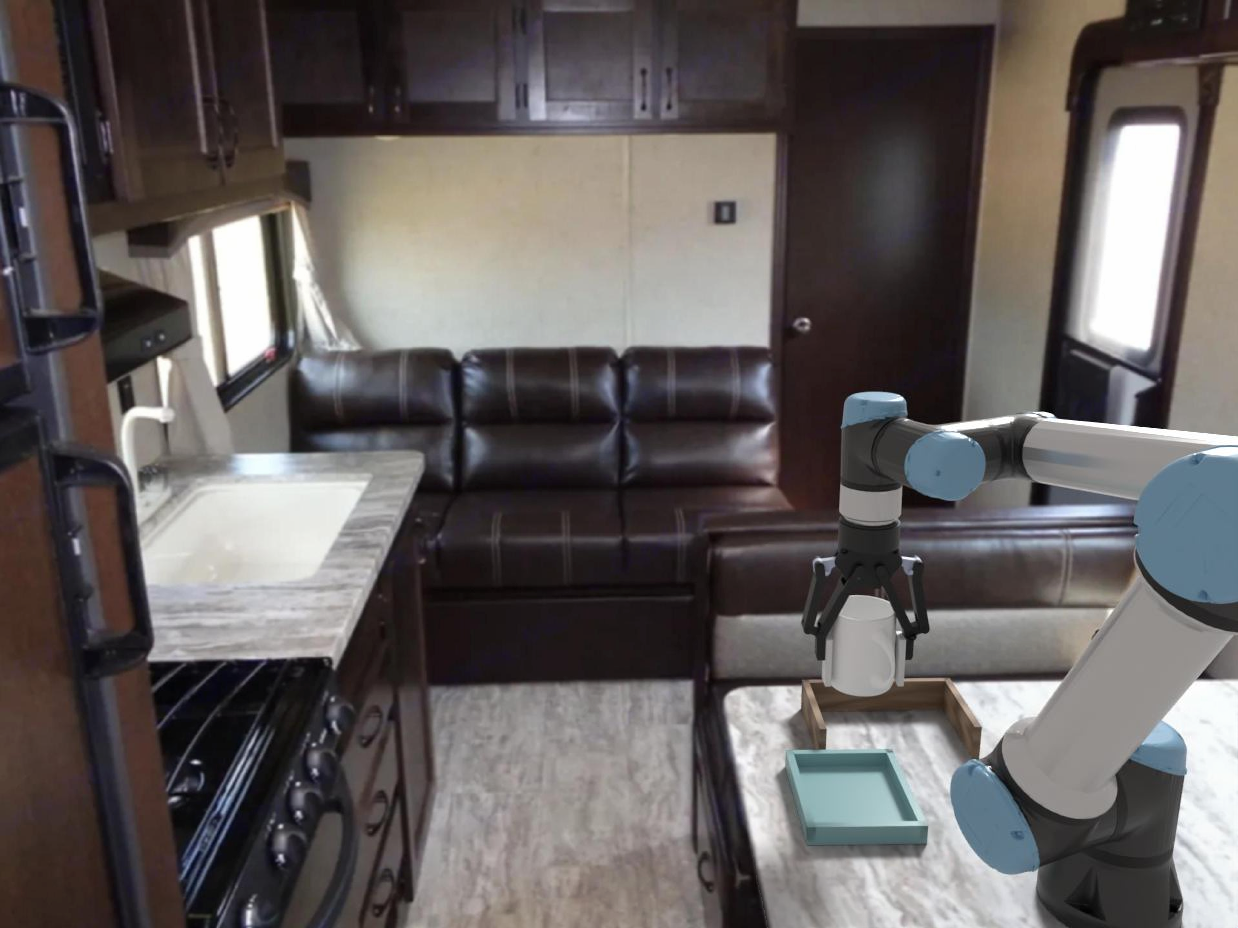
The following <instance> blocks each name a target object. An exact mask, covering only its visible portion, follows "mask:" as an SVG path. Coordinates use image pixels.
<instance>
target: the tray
mask: <svg viewBox="0 0 1238 928" xmlns="http://www.w3.org/2000/svg"><path fill="white" fill-rule="evenodd" d="M784 756H785V759H784V763H785V764H784V767H785V771H786V774H787V778H788V782H789V786H790V788H791V793H792V796H793V800H794V804H795V807H796V810H797V814H798V817H799V821H800V825H801V828H802V832H803V836H804V839H805V842H806V845H807V846H843V845H845V846H850V845H851V846H853V845H854V846H855V845H862V846H863V845H922V844H923V845H925V844H926V845H927V844H928V834H929V824H928V823H927V820H926V818H925V816H924V814H923V811H922V809H921V807H920V805H919V802H918V800H917V799H916V797H915V795H914V792H913V791H912V788H911V786H910V784H909V782H908V780H907V778H906V776H905V774H904V771H903V769H902V767H901V765H900V763H899V761H898V759H897V757H896V754H895V752H894V751H893V748H857V749H856V748H855V749H854V748H853V749H851V748H850V749H846V748H845V749H844V748H843V749H841V748H840V749H826V750H815V749H786V750H785V755H784Z"/></svg>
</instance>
